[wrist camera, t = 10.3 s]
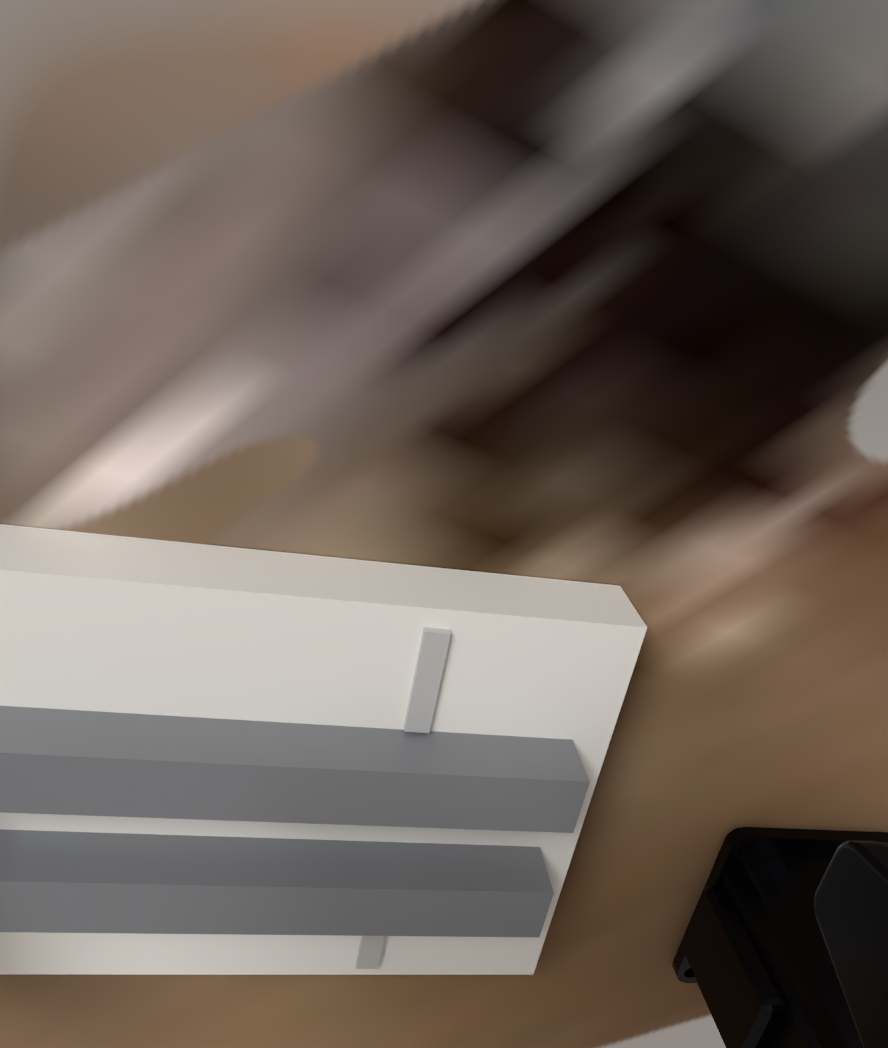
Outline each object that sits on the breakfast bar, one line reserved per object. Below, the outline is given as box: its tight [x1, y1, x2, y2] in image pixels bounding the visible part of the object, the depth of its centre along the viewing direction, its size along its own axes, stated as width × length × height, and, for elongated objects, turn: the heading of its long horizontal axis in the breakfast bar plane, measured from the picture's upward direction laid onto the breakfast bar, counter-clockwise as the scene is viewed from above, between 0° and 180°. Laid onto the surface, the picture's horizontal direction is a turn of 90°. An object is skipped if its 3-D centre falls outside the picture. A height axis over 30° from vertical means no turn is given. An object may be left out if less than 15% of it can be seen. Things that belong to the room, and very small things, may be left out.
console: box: [0, 524, 647, 975], centre depth 20 cm, size 24×12×4 cm, turn 80°
